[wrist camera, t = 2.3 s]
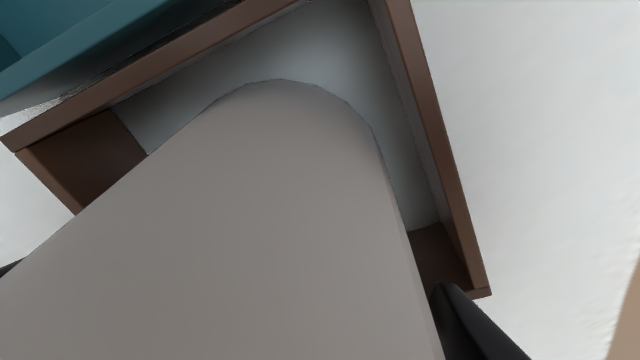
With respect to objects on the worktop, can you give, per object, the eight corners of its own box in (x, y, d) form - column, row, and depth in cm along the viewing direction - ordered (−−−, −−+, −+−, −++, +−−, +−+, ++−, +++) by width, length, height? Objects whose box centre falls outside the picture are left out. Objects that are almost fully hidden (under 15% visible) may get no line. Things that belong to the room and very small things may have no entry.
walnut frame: (455, 226, 14) (492, 295, 11) (243, 290, 17) (221, 363, 13) (368, -52, 9) (387, -82, 6) (91, 100, 12) (-4, 138, 9)
